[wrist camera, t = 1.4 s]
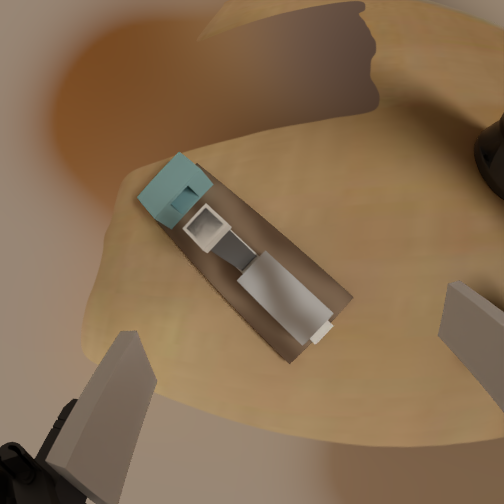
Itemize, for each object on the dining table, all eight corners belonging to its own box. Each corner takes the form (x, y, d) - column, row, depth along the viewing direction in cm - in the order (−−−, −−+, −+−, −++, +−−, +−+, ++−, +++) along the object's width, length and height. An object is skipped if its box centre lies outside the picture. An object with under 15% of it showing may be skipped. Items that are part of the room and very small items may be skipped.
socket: (192, 167, 47) (179, 151, 42) (213, 184, 44) (200, 168, 40) (153, 209, 47) (136, 197, 42) (171, 229, 44) (154, 218, 40)
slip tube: (219, 218, 41) (170, 170, 28) (333, 325, 33) (337, 325, 20) (205, 234, 41) (149, 192, 28) (315, 343, 33) (307, 355, 20)
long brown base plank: (200, 167, 48) (183, 147, 42) (352, 298, 36) (357, 292, 30) (154, 216, 48) (133, 202, 42) (291, 362, 36) (283, 369, 30)
